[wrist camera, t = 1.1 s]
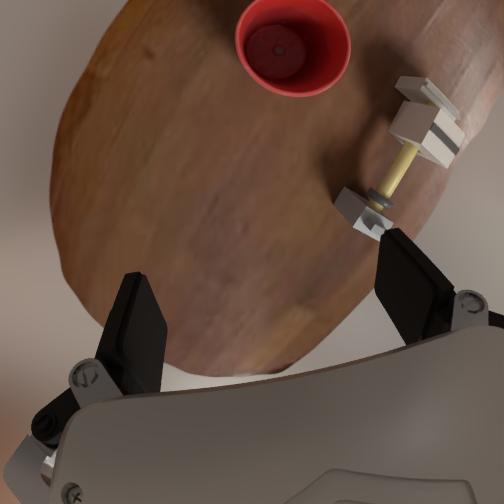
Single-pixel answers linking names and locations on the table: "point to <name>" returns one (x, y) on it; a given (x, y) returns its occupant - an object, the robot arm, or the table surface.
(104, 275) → the table surface
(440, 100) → the rail
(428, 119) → the grooved sliding block
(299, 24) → the flower pot
